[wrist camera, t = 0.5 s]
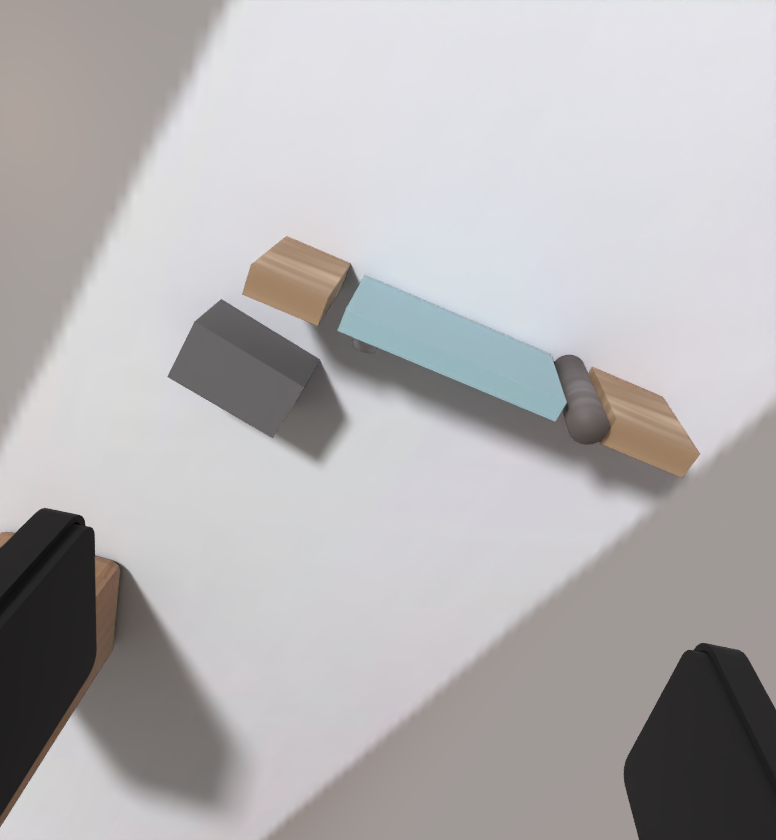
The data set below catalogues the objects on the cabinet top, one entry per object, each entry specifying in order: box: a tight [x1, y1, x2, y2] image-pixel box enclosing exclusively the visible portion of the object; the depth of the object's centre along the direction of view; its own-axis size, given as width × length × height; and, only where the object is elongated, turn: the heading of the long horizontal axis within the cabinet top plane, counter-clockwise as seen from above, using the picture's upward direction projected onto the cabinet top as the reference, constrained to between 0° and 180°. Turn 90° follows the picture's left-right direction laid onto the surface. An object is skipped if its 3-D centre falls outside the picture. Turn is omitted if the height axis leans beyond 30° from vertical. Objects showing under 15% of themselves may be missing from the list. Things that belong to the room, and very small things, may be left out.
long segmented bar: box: [242, 236, 700, 478], centre depth 35 cm, size 2×24×8 cm, turn 68°
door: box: [337, 275, 567, 422], centre depth 36 cm, size 12×3×7 cm, turn 68°
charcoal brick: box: [168, 299, 320, 438], centre depth 39 cm, size 4×7×4 cm, turn 58°
